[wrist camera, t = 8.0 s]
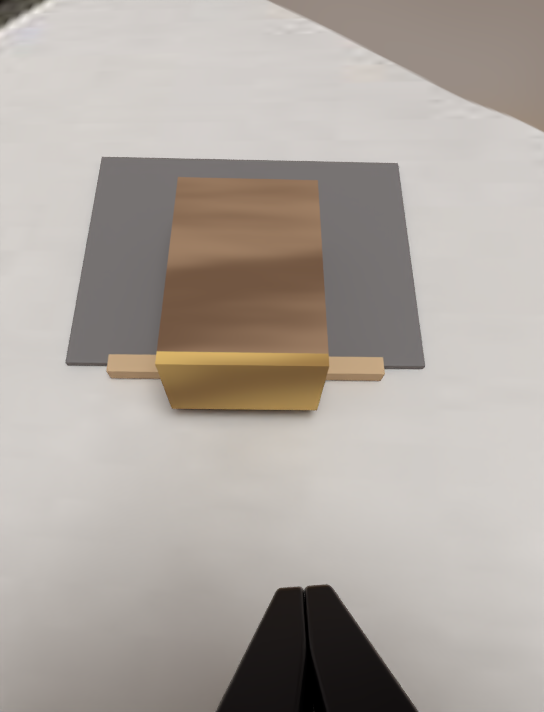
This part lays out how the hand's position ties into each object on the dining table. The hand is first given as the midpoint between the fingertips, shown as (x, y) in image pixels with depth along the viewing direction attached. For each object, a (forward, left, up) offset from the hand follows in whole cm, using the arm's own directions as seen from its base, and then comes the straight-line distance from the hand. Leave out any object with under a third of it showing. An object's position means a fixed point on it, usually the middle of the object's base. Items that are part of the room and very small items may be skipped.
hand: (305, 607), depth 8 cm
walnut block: (+5, +5, -9) cm, 12 cm away
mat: (+12, +10, -12) cm, 20 cm away
